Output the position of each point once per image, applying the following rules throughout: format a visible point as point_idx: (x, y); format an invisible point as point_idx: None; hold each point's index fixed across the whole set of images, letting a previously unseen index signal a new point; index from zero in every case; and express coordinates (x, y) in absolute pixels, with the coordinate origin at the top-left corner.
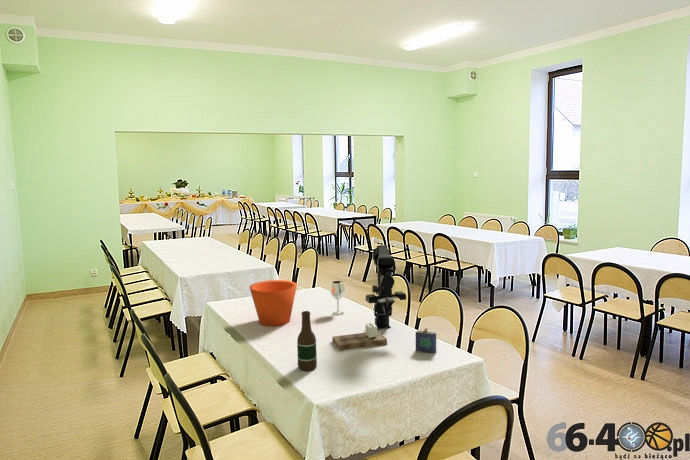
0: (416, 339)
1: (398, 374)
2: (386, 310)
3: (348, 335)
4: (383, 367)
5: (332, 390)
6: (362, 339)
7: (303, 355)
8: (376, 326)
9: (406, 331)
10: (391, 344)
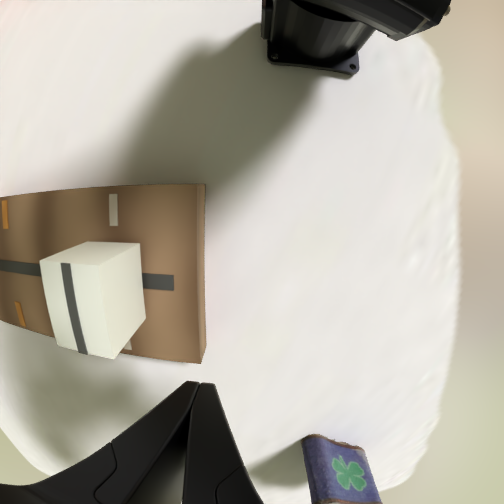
0: (308, 482)
1: None
2: (179, 484)
3: (18, 209)
4: None
5: (43, 462)
6: None
7: None
8: (108, 357)
9: (420, 183)
10: (230, 355)
